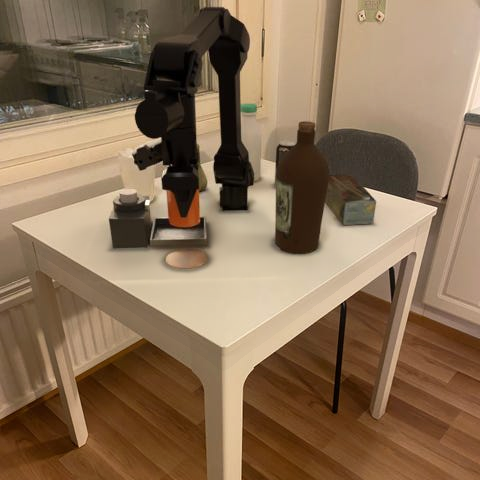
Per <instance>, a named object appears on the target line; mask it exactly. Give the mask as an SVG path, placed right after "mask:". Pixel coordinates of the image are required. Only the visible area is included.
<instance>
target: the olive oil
mask: <svg viewBox="0 0 480 480" xmlns="http://www.w3.org/2000/svg"><path fill="white" fill-rule="evenodd" d="M315 129H316V123H315V122H313V121H309V120H308V121H307V120H303V121H299V122H298V129H297V131H296V144H295V145H294V146H293V147H292V148H291V149H290V150H289V151H288V152H287V153H286V154H285V155H284V156H283V157H282V159H281V160H280V162H279V164H278V167H277V170H276V185H275V219H274V221H275V223H274V224H275V225H274V227H275V229H274V244H275V246H276V247H277V248H279V250H281V251H283V252H286V253H290V254H300V255H301V254H308V253H312V252H314V251H315V250H317V249H318V248H319V243H320V238H321V237H320V236H321V231H322V223H323V217H324V210H325V205H326V201H325V200H326V194H327V188H328V183H329V175H330V166H329V164H328V161H327V159H326V158H325V156H324V155H323V154H322V153H321V151H320V150H319V149H318V148H317V146H316V143H315V137H316V130H315Z"/></svg>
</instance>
